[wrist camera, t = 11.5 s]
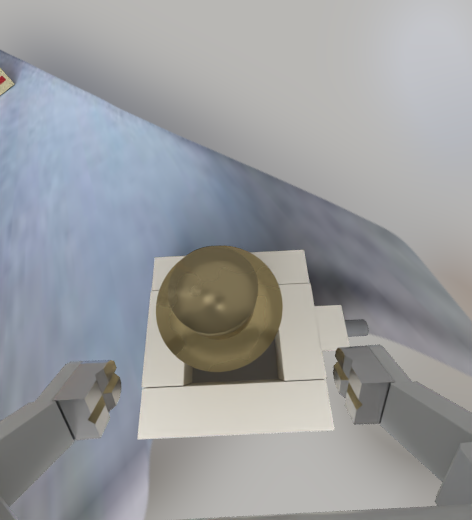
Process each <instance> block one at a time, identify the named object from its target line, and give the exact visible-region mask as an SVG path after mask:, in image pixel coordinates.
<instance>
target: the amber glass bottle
mask: <svg viewBox="0 0 472 520" xmlns="http://www.w3.org/2000/svg"><path fill="white" fill-rule="evenodd" d="M282 311H283V303H282V295H281V290H280V287H279V284H278V282H277V280H276V278H275V276H274V274H273V273H272V271H271V270H270V269H269V268H268V266H267V265H266V264H265V263H264V262H263V261H262V260H260V259H259V258H258V257H256V256H255V255H253V254H251V253H250V252H248V251H245V250H243V249H240V248H236V247H231V246H208V247H203V248H200V249H197V250H195V251H193V252H191V253H189V254H188V255H186V256H185V257H184V258H182V259H181V260H180V261H179V262H178V263H176V264H175V266H174V267H173V268H172V269H171V270H170V271H169V273H168V274H167V275H166V277H165V279H164V280H163V282H162V285H161V287H160V289H159V293H158V296H157V302H156V320H157V325H158V329H159V332H160V335H161V337H162V339H163V341H164V343H165V344H166V346H167V347H168V348H169V350H170V351H171V352H172V353H173V354H174V355H175V356H176V357H177V358H178V359H180V360H181V361H183V362H184V363H185V364H187V365H189V366H191V367H193V368H196V369H199V370H203V371H209V372H225V371H231V370H235V369H239V368H241V367H243V366H246V365H248V364H249V363H251V362H253V361H254V360H256V359H257V358H258V357H259V356H261V355H262V354H263V353H264V352H265V351H266V349H267V348H268V347H269V346H270V344H271V343H272V342H273V340H274V338H275V336H276V334H277V332H278V329H279V327H280V324H281V319H282Z"/></svg>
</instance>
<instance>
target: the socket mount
mask: <svg viewBox="0 0 472 520" xmlns="http://www.w3.org/2000/svg"><path fill="white" fill-rule="evenodd" d="M250 253H251V254H253V255H255V256H256V257H258V258H259V259H260V260H262V261H263V262H264V263H265V264H266V265H267V266H268V268H269V269H270V270H271V271H272V273H273V274H274V276H275V278H276V280H277V282H278V284H279V287H280V290H281V295H282V303H283V311H282V319H281V324H280V327H279V329H278V332H277V334H276V336H275V338H274V340H273V342H272V343H271V344H270V346H269V347H268V348H267V349H266V351H265V352H264V353H263V354H262V355H261V356H259V357H258V358H257V359H256V360H254V361H253V362H251V363H249V364H248V365H246V366H243V367H241V368H239V369H235V370H231V371H225V372H209V371H203V370H199V369H196V368H193V367H191V366H189V365H187V364H185V363H184V362H183V361H181V360H180V359H178V358H177V357H176V356H175V355H174V354H173V353H172V352H171V351H170V350H169V348H168V347H167V346H166V344H165V343H164V341H163V339H162V337H161V335H160V332H159V329H158V325H157V320H156V302H157V296H158V293H159V289H160V287H161V285H162V282H163V280H164V279H165V277H166V275H167V274H168V273H169V271H170V270H171V269H172V268H173V267H174V266H175V264H176V263H178V262H179V261H180V260H181V259H182V258H184V257H185V256H172V257H155V261H154V271H153V282H152V291H151V294H150V304H149V315H148V325H147V335H146V346H145V356H144V366H143V377H142V387H146V388H143V389H142V397H141V408H140V418H139V429H138V439H156V438H179V437H200V436H223V435H245V434H265V433H286V432H308V431H309V432H310V431H332V430H334V424H333V418H332V412H331V406H330V400H329V394H328V389H327V383H326V380H324V379H327V377H326V371H325V365H324V359H323V354H322V351H336V350H337V348H338V347H350V344H349V340H348V337H352V336H367V335H368V332H369V329H368V325H367V322H366V321H365V320H363V319H362V320H344V316H343V312H342V307H341V305H330V306H314V301H313V295H312V289H311V284H310V283H309V277H308V271H307V265H306V259H305V253H304V250H289V251H270V252H250ZM142 387H141V388H142Z"/></svg>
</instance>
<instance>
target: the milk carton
mask: <svg viewBox="0 0 472 520" xmlns="http://www.w3.org/2000/svg"><path fill="white" fill-rule="evenodd" d="M13 85H14V83H13V82H12V80H11V79H10V78H9V77H8V76H7V75H6V74H5V73H4V72H3V70H2V69H1V68H0V95H1V94H3V93H4V92H5V91H6V90H8V89H9V88H10V87H11V86H13Z"/></svg>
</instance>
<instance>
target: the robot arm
mask: <svg viewBox="0 0 472 520" xmlns="http://www.w3.org/2000/svg"><path fill="white" fill-rule="evenodd" d="M335 357H336V359H337V361H338V362H337V363H336V364H335V365H334V370H333V375H334V381H335V384H336V387H337V390H338V392H339V394H341V395H342V396H343V397H344V398H346V400H345V407H346V409H347V411H348V413H349V415H350V417H351V419H352V422H353V424H380V426H381V427H383V428H384V429H385V430H386V431H387V432H388V433H389V434H390V435H391V436H393V437H394V438H395V439H396V440H397V441H398V442H399V443H400V444H401V445H402V446H403V447H405V448H406V449H407V450H408V451H409V452H410V453H411V454H412V455H413V456H414V457H415V458H417V459H418V460H419V461H420V462H421V463H422V464H423V465H424V466H425V467H427V468H428V469H429V470H430V471H431V472H432V473H433V474H435V476H436V477H437V478H439V479H440V480H441V481H442V485H441V487H440V489H439V491H438V494H437V496H436V500H435V502H436V504H437V506H430V507H410V508H391V509H372V510H353V511H335V512H315V513H296V514H277V515H259V516H239V517H220V518H202V519H183V520H472V413H471V412H470V411H468V410H466V409H464V408H463V407H461V406H459V405H457V404H456V403H454V402H452V401H450V400H449V399H447V398H445V397H443V396H441V395H440V394H438V393H436V392H434V391H433V390H431V389H429V388H427V387H426V386H424V385H422V384H420V383H419V382H412V381H411V379H410V378H409V377H408V376H407V375H406V374H405V373H404V371H403V370H402V369H401V368H400V366H399V365H398V364H397V363H396V362H395V360H394V359H393V358H392V357H391V356H390V354H389V353H388V352H387V351H386V350H385V348H384V347H383V346H381V345H368V346H355V347H338V348H337V350H336V354H335ZM115 370H116V365H115V362H114V361H112V360H98V361H75V362H69V363H67V364H65V366H64V367H63V368H62V369H61V370H60V372H59V373H58V374H57V375H56V377H55V378H54V379H53V380H52V381H51V383H50V384H49V385H48V386H47V387H46V389H45V390H44V391H43V392H42V394H41V395H40V396H39V397H38V398H37V400H36V401H35V402H32V403H28V404H27V405H25V406H24V407H22V408H20V409H19V410H17V411H16V412H14V413H13V414H11V415H10V416H8V417H6V418H5V419H3V420H2V421H0V520H18V518H17V517H16V516H15V514H14V513H13V512H12V510H11V509H10V508H9V507H10V506H11V505H12V504H13V503H14V502H15V501H16V500H17V499H18V498H19V497H20V496H21V495H22V494H23V493H24V492H25V491H26V490H27V489H28V488H29V487H30V486H31V485H32V484H33V483H34V482H35V481H36V480H37V479H38V478H39V477H40V476H41V475H42V474H43V473H44V472H45V471H46V470H47V469H48V468H49V467H50V466H51V465H52V464H53V463H54V462H55V461H56V460H57V459H58V458H59V457H60V456H61V455H62V454H63V453H64V452H65V451H66V450H67V449H68V448H69V447H70V446H71V445H72V444H73V443H74V440H85V439H97V438H101V436H102V434H103V432H104V430H105V428H106V426H107V424H108V421H109V419H110V416H109V411H110V410H112V409H113V408H114V407H115V406H116V405H117V402H118V400H119V398H120V393H121V381H120V377H119V376H117V375H116V374H115V373H114V372H115Z"/></svg>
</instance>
